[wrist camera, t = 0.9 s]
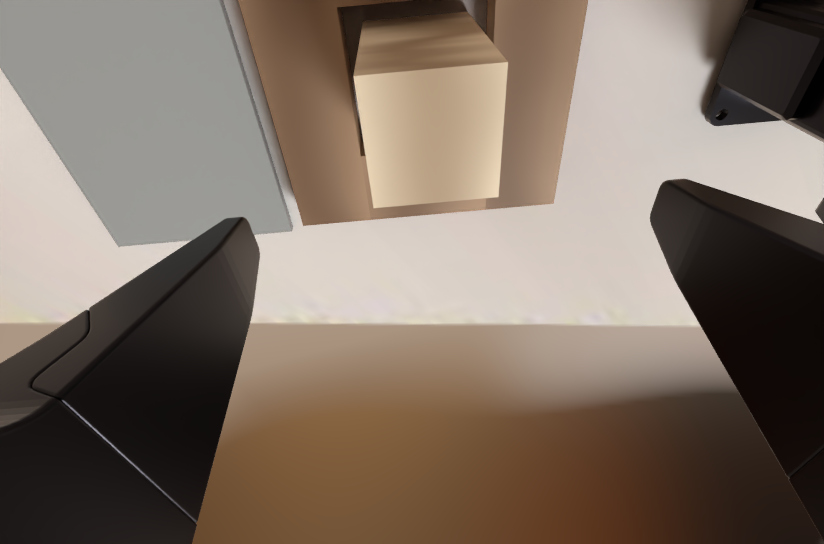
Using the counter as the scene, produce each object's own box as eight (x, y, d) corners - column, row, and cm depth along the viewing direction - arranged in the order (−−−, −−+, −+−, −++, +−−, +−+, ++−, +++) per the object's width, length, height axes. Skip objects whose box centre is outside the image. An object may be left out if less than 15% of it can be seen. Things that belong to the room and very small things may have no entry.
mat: (176, -151, 13) (171, -152, 13) (292, 226, 22) (291, 231, 22) (-114, -123, 13) (-126, -123, 13) (122, 241, 22) (118, 246, 22)
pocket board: (594, -145, 14) (613, -150, 12) (544, 187, 21) (553, 203, 20) (220, -110, 14) (206, -111, 12) (307, 208, 21) (303, 225, 20)
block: (467, 11, 16) (508, 62, 11) (466, 115, 19) (498, 197, 14) (363, 21, 16) (353, 76, 11) (376, 123, 19) (373, 208, 14)
